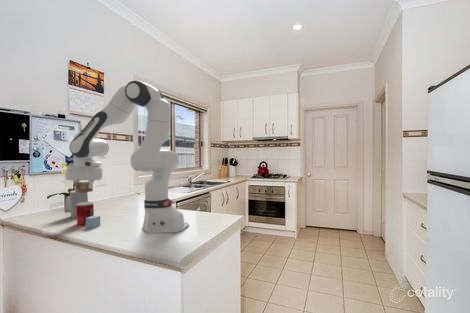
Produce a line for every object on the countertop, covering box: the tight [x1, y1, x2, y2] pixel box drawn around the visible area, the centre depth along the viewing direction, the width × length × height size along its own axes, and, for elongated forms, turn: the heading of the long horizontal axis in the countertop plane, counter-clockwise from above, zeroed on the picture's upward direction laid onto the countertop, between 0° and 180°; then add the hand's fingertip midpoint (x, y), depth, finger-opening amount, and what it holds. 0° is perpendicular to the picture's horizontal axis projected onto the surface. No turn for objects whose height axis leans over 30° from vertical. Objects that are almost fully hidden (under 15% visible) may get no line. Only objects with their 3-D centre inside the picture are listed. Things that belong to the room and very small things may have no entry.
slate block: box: [85, 215, 101, 229], centre depth 118 cm, size 4×4×5 cm
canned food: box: [76, 201, 95, 226], centre depth 123 cm, size 8×8×11 cm
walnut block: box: [74, 181, 94, 193], centre depth 123 cm, size 6×6×5 cm
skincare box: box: [69, 190, 89, 219], centre depth 140 cm, size 8×7×16 cm
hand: (84, 188), depth 123 cm, fingers closed on walnut block, 5 cm apart
